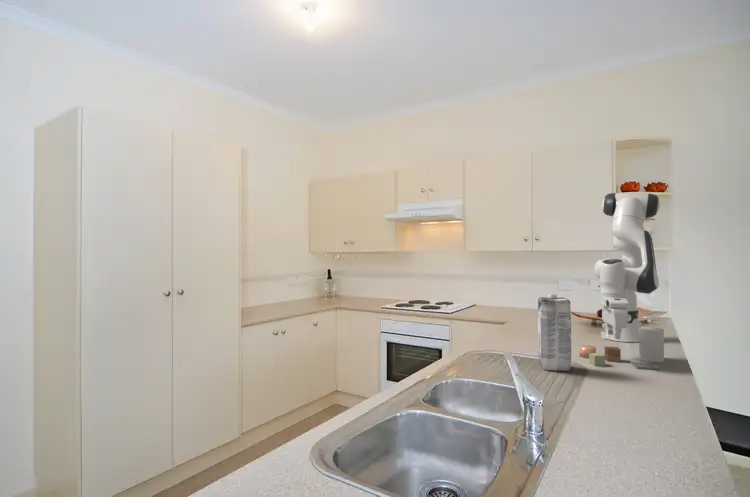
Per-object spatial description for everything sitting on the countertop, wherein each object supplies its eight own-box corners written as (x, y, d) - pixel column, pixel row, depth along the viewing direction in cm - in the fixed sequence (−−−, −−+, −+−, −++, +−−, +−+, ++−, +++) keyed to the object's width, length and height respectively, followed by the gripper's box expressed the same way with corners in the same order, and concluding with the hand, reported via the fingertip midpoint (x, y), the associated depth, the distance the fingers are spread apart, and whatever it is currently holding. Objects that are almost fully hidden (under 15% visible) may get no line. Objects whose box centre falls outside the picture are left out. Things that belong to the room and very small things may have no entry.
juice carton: (573, 372, 148) (572, 296, 148) (541, 371, 150) (540, 295, 150) (566, 365, 156) (566, 293, 157) (537, 364, 159) (536, 293, 159)
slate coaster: (631, 363, 158) (631, 361, 158) (652, 365, 156) (652, 362, 156) (637, 368, 151) (637, 366, 151) (659, 370, 149) (659, 368, 149)
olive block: (589, 363, 159) (589, 353, 159) (599, 363, 159) (599, 353, 159) (594, 366, 155) (594, 355, 155) (605, 366, 155) (605, 355, 155)
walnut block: (604, 358, 166) (604, 346, 166) (617, 359, 165) (617, 346, 165) (607, 361, 162) (607, 348, 162) (620, 362, 160) (620, 349, 160)
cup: (656, 356, 168) (656, 327, 168) (668, 362, 160) (668, 330, 160) (635, 356, 169) (634, 326, 169) (646, 362, 160) (645, 330, 160)
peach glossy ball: (578, 354, 173) (578, 344, 173) (594, 355, 171) (594, 345, 171) (581, 358, 167) (580, 348, 167) (597, 359, 165) (597, 349, 165)
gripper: (597, 298, 174) (598, 331, 173) (611, 303, 154) (612, 341, 153) (614, 298, 172) (615, 332, 171) (630, 303, 152) (631, 342, 152)
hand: (613, 336), depth 162 cm, fingers open, 8 cm apart
